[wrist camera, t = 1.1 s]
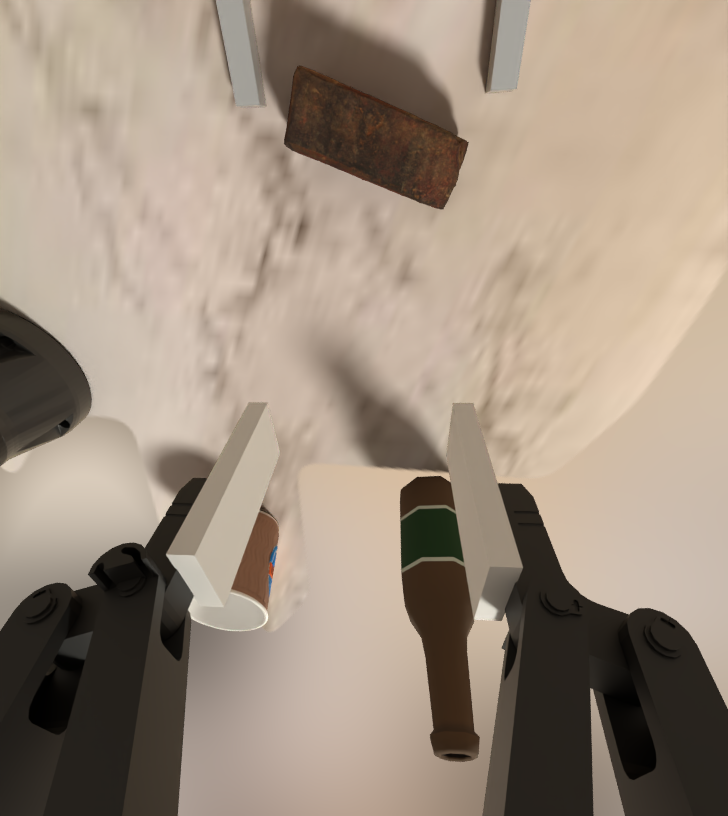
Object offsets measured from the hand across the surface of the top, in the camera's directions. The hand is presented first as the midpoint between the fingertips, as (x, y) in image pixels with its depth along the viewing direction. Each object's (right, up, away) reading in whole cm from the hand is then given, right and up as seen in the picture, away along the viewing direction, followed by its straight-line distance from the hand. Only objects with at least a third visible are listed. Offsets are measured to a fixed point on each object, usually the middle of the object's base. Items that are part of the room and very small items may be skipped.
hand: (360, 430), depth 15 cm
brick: (+1, +19, +10) cm, 22 cm away
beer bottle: (+8, -10, +31) cm, 33 cm away
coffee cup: (-15, -15, +37) cm, 43 cm away
